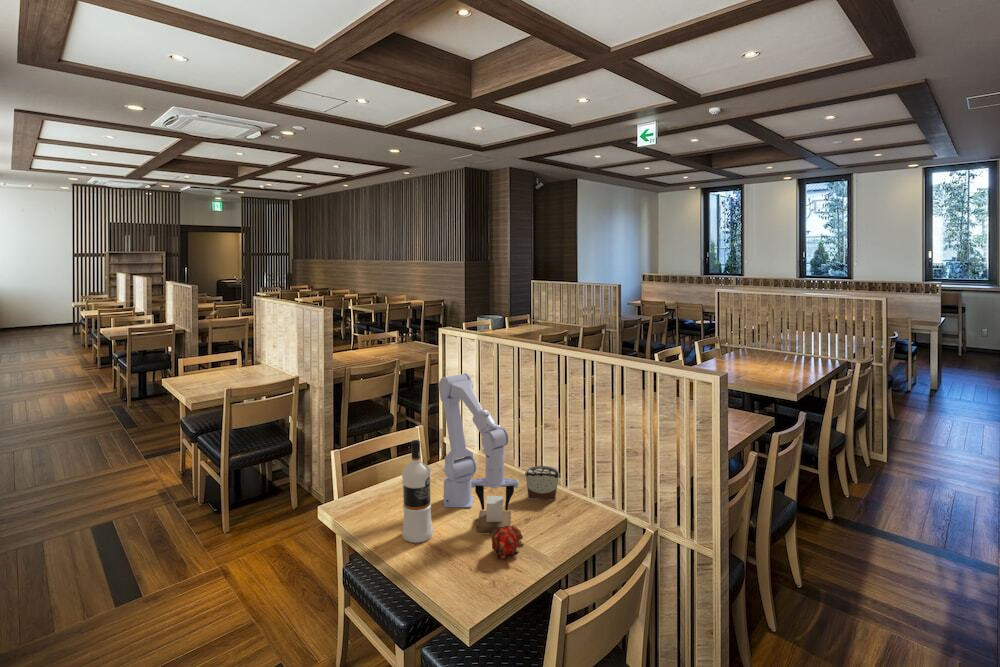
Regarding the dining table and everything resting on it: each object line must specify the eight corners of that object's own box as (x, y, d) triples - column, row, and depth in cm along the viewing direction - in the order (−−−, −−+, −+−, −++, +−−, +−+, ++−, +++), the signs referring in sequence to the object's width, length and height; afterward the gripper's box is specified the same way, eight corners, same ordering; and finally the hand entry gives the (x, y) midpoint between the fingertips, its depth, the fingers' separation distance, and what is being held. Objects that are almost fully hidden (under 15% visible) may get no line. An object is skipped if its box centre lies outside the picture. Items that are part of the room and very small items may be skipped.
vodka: (414, 525, 168) (412, 433, 164) (439, 532, 164) (437, 438, 159) (395, 539, 160) (393, 443, 156) (420, 547, 156) (418, 448, 151)
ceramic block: (486, 521, 166) (486, 503, 165) (487, 513, 171) (487, 495, 170) (502, 521, 166) (502, 503, 165) (502, 513, 171) (502, 496, 170)
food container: (559, 492, 191) (560, 465, 190) (559, 500, 185) (560, 473, 184) (524, 490, 192) (525, 464, 191) (524, 498, 186) (524, 471, 185)
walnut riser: (477, 535, 164) (477, 526, 163) (479, 519, 173) (479, 510, 173) (509, 536, 163) (509, 527, 163) (510, 520, 173) (510, 511, 173)
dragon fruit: (518, 547, 159) (501, 575, 148) (496, 528, 160) (478, 553, 150) (533, 532, 155) (516, 558, 144) (510, 511, 156) (492, 536, 146)
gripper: (470, 472, 162) (470, 514, 164) (518, 472, 161) (518, 515, 163) (472, 463, 169) (472, 503, 171) (518, 463, 168) (517, 504, 170)
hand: (494, 508), depth 168 cm, fingers open, 7 cm apart
